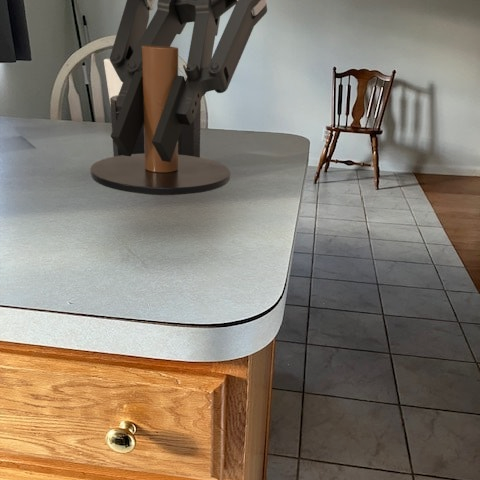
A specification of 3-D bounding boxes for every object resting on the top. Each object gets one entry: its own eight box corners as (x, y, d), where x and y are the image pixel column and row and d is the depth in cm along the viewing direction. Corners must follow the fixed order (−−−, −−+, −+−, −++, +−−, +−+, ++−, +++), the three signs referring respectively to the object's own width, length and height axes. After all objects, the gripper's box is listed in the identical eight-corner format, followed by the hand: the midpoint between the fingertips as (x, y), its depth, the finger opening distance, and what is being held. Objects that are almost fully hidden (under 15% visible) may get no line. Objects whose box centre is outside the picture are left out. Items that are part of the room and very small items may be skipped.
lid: (62, 188, 46) (47, 42, 41) (133, 159, 57) (128, 40, 52) (199, 210, 43) (203, 55, 38) (246, 175, 54) (254, 50, 48)
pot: (88, 188, 70) (81, 102, 65) (148, 162, 85) (145, 89, 79) (170, 200, 67) (169, 111, 62) (217, 171, 82) (220, 96, 77)
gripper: (303, -24, 52) (240, 186, 47) (153, -31, 56) (77, 162, 51) (297, -104, 45) (222, 132, 40) (126, -106, 49) (34, 109, 44)
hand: (141, 148), depth 45 cm, fingers closed on lid, 3 cm apart
